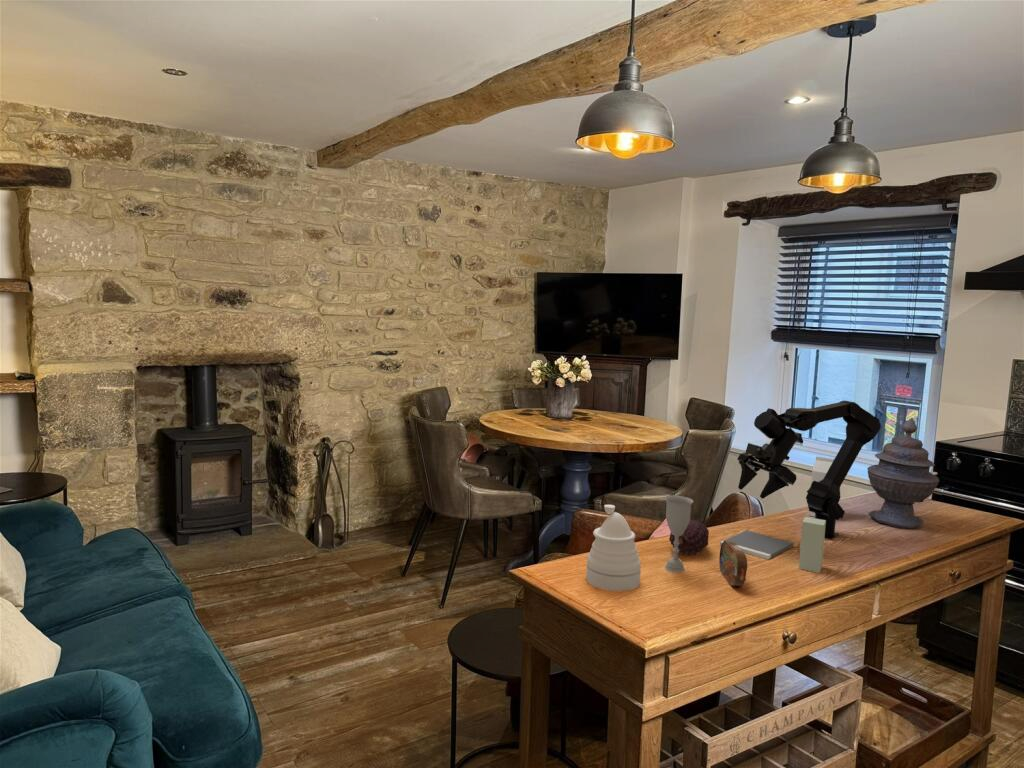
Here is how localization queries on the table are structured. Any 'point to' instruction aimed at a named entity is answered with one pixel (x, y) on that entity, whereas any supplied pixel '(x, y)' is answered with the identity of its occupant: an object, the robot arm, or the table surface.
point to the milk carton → (820, 471)
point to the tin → (733, 563)
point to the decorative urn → (902, 479)
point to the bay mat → (759, 544)
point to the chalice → (677, 526)
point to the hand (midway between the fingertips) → (750, 493)
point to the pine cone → (692, 538)
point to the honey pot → (614, 555)
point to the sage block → (812, 544)
